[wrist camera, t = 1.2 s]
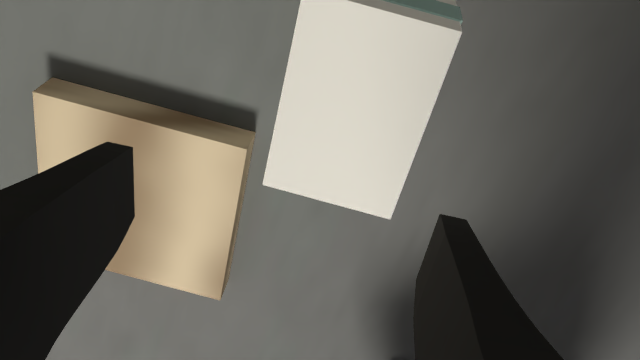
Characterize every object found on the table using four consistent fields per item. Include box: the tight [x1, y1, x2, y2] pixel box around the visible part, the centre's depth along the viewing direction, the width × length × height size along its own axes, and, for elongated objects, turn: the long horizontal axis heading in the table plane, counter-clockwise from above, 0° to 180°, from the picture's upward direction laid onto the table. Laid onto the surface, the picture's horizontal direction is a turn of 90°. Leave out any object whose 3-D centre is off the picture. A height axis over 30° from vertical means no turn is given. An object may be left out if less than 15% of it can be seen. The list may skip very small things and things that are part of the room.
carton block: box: [263, 0, 463, 219], centre depth 18 cm, size 4×6×7 cm
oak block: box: [33, 77, 256, 300], centre depth 26 cm, size 9×9×2 cm
